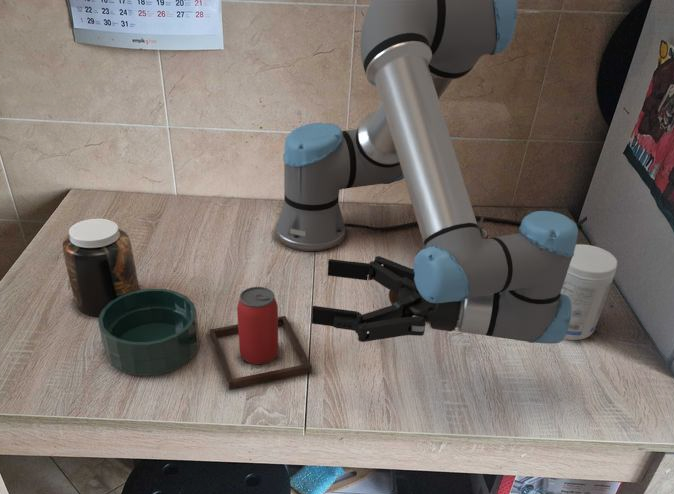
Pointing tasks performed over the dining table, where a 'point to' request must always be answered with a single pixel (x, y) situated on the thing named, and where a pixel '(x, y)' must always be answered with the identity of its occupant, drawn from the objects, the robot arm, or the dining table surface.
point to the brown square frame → (266, 376)
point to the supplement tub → (587, 288)
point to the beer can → (258, 325)
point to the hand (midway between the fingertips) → (320, 289)
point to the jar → (99, 264)
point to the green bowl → (149, 331)
